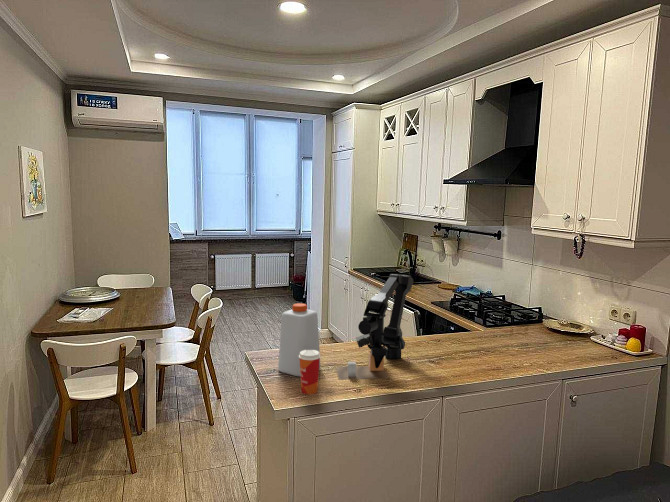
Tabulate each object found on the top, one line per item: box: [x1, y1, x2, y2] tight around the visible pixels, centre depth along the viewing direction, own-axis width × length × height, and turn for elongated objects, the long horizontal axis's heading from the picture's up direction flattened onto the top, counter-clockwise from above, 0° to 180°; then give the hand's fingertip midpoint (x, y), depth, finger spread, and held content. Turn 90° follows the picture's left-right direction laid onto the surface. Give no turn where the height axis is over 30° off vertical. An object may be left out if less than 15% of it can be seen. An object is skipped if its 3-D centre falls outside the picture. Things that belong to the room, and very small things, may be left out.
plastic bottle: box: [277, 302, 321, 378], centre depth 194 cm, size 15×15×28 cm
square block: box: [367, 350, 385, 371], centre depth 194 cm, size 6×6×7 cm
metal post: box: [347, 361, 357, 378], centre depth 186 cm, size 3×3×6 cm
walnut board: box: [335, 365, 389, 381], centre depth 191 cm, size 20×14×1 cm
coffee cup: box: [299, 350, 321, 396], centre depth 174 cm, size 8×8×15 cm
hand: (375, 365), depth 195 cm, fingers closed on square block, 6 cm apart
